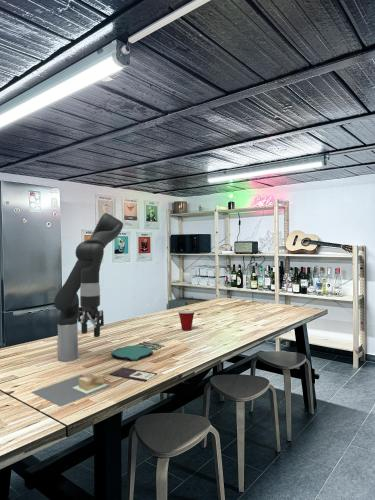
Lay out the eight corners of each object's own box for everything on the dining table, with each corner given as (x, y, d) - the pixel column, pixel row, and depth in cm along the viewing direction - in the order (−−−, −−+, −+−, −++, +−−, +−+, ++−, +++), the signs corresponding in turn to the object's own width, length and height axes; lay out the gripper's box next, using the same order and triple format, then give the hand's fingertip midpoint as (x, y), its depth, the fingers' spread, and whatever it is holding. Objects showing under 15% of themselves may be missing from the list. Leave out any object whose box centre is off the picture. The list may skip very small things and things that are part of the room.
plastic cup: (195, 327, 234) (195, 309, 233) (194, 332, 223) (194, 312, 223) (179, 327, 235) (178, 309, 234) (177, 331, 224) (176, 312, 224)
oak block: (96, 381, 143) (95, 372, 143) (104, 384, 140) (103, 374, 140) (78, 387, 137) (78, 378, 137) (86, 390, 134) (86, 381, 134)
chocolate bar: (122, 367, 160) (156, 373, 152) (122, 369, 160) (157, 375, 152) (109, 374, 152) (145, 380, 144) (109, 376, 152) (145, 382, 144)
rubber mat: (30, 393, 134) (30, 391, 134) (81, 376, 151) (81, 374, 151) (60, 408, 122) (60, 406, 122) (111, 387, 139) (111, 385, 139)
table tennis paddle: (103, 357, 176) (103, 352, 176) (141, 343, 202) (141, 339, 202) (134, 364, 166) (134, 359, 166) (171, 348, 191) (171, 344, 191)
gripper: (109, 294, 139) (109, 336, 140) (88, 291, 149) (88, 330, 149) (92, 297, 134) (92, 340, 134) (71, 293, 143) (72, 334, 143)
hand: (90, 335), depth 142 cm, fingers open, 8 cm apart
